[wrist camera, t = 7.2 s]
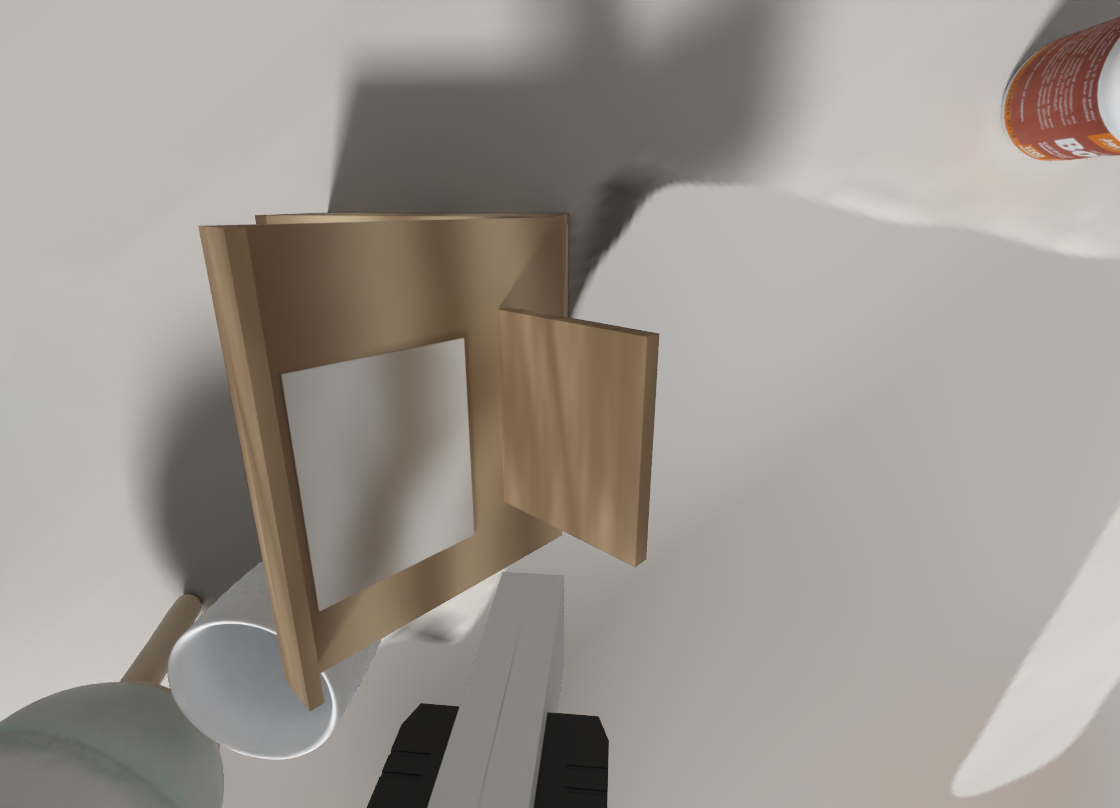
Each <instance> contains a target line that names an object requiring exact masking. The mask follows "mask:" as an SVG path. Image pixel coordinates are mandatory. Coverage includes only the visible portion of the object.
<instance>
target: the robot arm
mask: <svg viewBox="0 0 1120 808" xmlns="http://www.w3.org/2000/svg"><path fill="white" fill-rule="evenodd" d="M563 660H564V576H561V575H544V574H528V573H512V572H502V576H501V579H500V582H499V585H498V588H497V591H496V594H495V597H494V601H493V604H492V607H491V610H490V613H489V617H488V619H487V623H486V626H485V629H484V632H483V635H482V638H481V641H480V644H479V648H478V651H477V654H476V657H475V660H474V663H473V666H472V669H471V673H470V676H469V679H468V682H467V685H466V688H465V691H464V695H463V698H462V701H461V704H460V707H458V706H447V705H434V704H423V703H421V704H420V705H419V706H418V707H417V708H416V710H414V712H413V713H412V714H411V715H410V716H409V717H408V718H407V719H406V720H405V721H404V722H403V724H402V725H401V727H400V730H399V732H398V735H397V737H396V739H395V742H394V744H393V746H392V749H391V754H390V755H389V756H388V758H387V761H386V763H385V765H384V768H383V770H382V775H381V777H379V780H378V783H377V785H376V787H375V790H374V792H373V794H372V796H371V799H370V801H369V804H368V806H367V808H607V791H608V790H607V789H608V748H609V740H608V738H607V736H606V733H605V731H604V728H603V726H602V724H601V721H600V719H599V717H598V716H586V715H575V714H563V713H558V706H559V698H560V691H561V683H562V673H563V666H564V661H563Z"/></svg>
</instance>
